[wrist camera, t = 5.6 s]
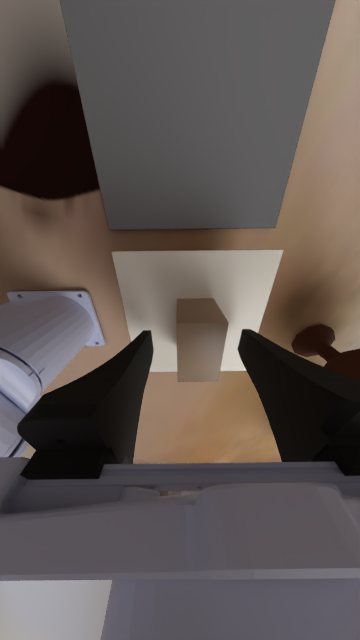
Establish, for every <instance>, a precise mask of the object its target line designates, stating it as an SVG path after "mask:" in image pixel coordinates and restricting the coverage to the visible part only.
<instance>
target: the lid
mask: <svg viewBox="0 0 360 640" xmlns="http://www.w3.org/2000/svg"><path fill="white" fill-rule="evenodd" d="M282 253H283V250H279V249H276V250H187V251H114V252H112V257H113V261H114V266H115V270H116V275H117V279H118V284H119V289H120V293H121V298H122V302H123V307H124V311H125V316H126V320H127V325H128V329H129V334H130V338H131V342H132V341H133V340H134V339H135V338H136V337H137V336H138V335H139V334H140V333H141V332H142V331H143V330H151V334H152V341H153V349H154V352H153V359H152V364H151V367H150V371H149V372H176V371H177V376H178V382H198V381H218V379H219V374H220V371H246V369H245V367H244V365H243V363H242V361H241V358H240V355H239V352H238V350H237V349H238V345H239V341H240V337H241V332H242V329H251V330H253V331H255V332H257V333H258V331H259V328H260V325H261V321H262V318H263V315H264V312H265V308H266V305H267V302H268V299H269V296H270V292H271V289H272V286H273V283H274V279H275V276H276V273H277V270H278V266H279V263H280V260H281V257H282Z"/></svg>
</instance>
